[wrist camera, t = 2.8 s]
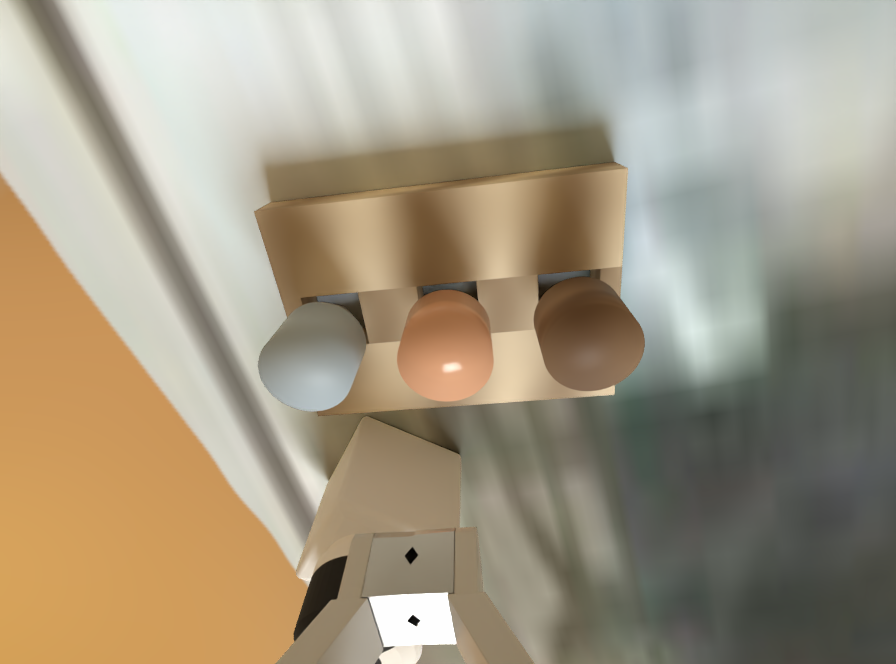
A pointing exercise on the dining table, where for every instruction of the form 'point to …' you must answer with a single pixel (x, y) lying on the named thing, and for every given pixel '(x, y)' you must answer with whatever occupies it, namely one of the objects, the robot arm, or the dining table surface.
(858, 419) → the dining table surface
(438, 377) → the peach rounded knob
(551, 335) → the brown rounded piece
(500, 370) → the button board
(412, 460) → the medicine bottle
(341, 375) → the slate-blue button
